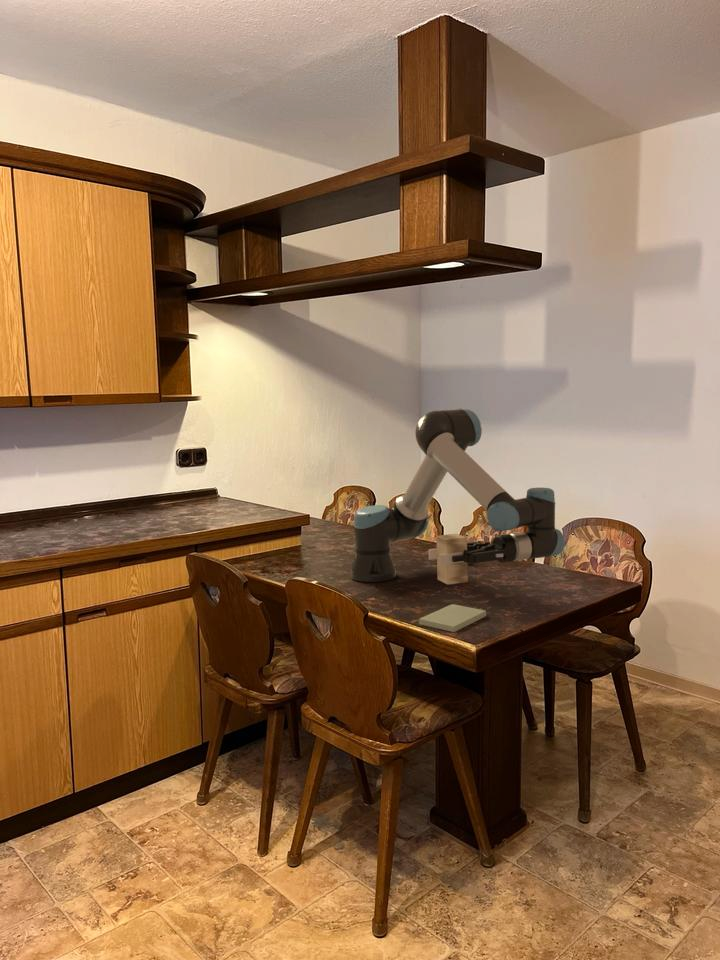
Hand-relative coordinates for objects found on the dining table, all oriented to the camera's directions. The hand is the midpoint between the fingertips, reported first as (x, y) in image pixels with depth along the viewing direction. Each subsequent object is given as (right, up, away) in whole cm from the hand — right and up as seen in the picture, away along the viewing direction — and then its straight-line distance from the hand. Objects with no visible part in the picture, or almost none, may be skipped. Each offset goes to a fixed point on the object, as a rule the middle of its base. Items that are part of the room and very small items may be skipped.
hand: (434, 557), depth 193 cm
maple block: (+5, -7, +3) cm, 9 cm away
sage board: (+5, -18, +4) cm, 19 cm away
